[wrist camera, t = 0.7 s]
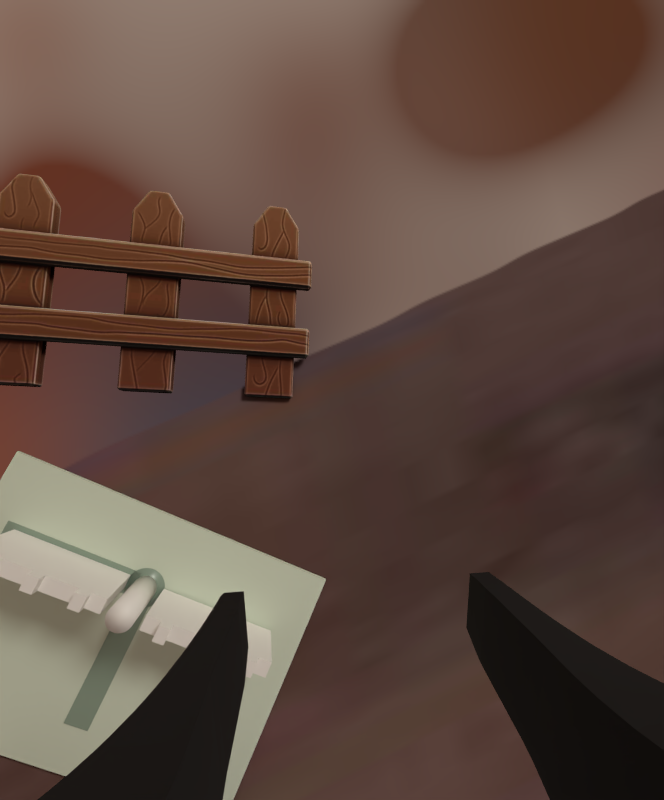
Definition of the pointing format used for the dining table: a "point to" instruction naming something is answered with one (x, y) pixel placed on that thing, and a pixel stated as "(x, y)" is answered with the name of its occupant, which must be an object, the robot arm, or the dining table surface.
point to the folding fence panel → (184, 619)
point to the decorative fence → (146, 293)
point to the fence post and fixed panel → (73, 579)
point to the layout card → (132, 650)
